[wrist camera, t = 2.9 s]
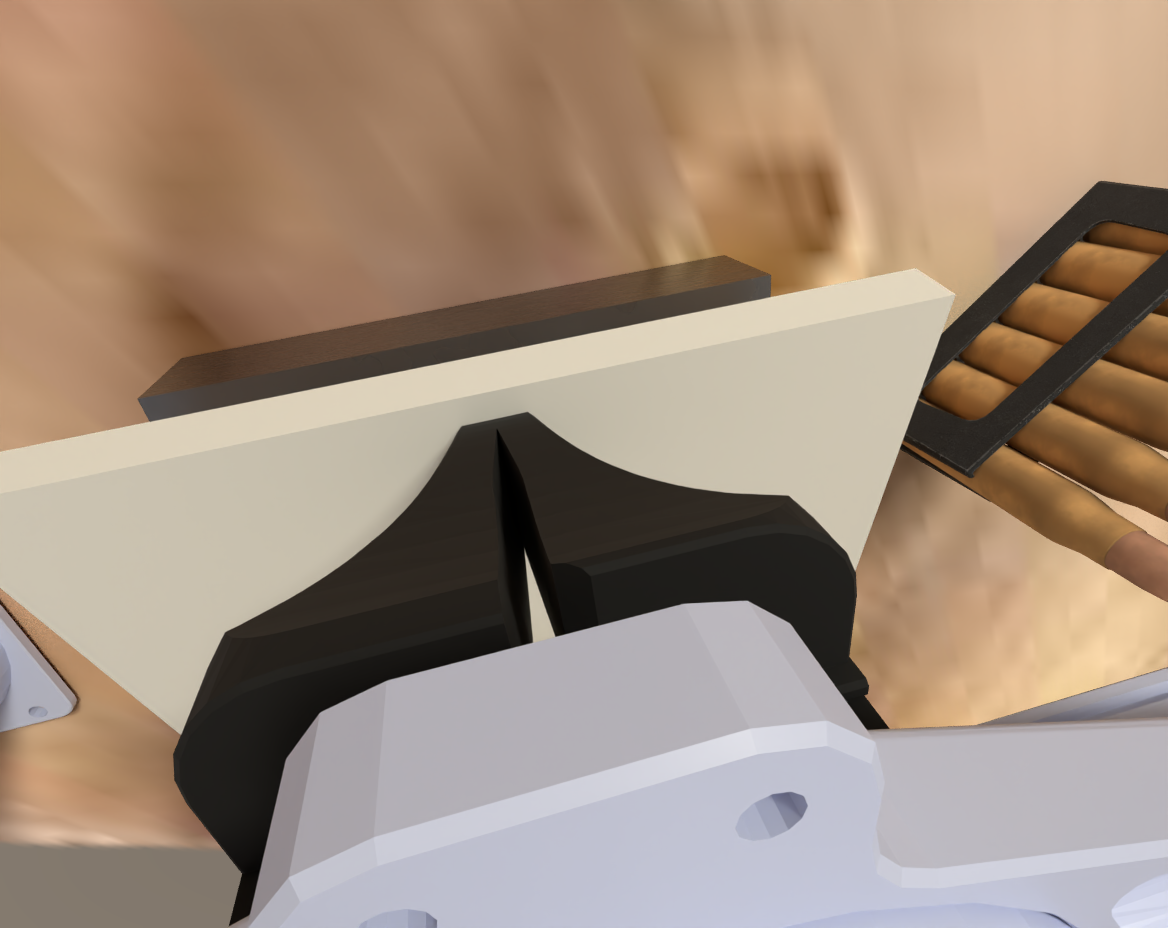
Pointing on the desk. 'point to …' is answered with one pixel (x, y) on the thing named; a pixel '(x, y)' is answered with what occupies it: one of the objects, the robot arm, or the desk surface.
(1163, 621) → the desk surface
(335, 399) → the plate
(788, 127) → the desk surface
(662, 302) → the leveling base
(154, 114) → the desk surface
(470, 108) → the desk surface
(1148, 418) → the ammunition clip
